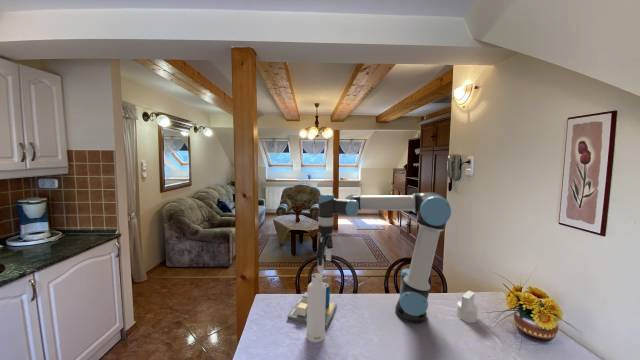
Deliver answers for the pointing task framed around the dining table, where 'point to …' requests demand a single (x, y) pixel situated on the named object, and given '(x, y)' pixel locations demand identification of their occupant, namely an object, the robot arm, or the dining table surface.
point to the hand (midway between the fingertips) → (324, 265)
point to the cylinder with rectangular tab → (467, 308)
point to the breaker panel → (303, 319)
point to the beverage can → (327, 294)
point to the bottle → (316, 309)
